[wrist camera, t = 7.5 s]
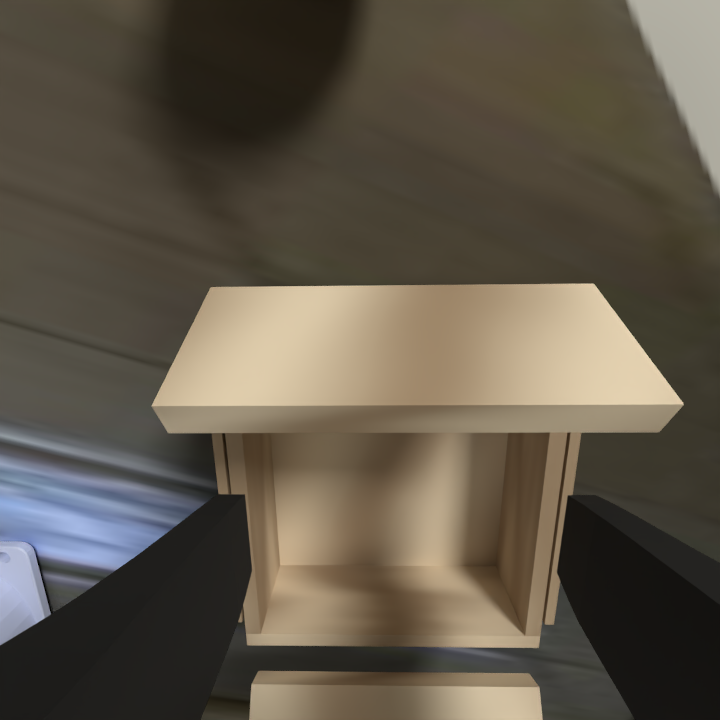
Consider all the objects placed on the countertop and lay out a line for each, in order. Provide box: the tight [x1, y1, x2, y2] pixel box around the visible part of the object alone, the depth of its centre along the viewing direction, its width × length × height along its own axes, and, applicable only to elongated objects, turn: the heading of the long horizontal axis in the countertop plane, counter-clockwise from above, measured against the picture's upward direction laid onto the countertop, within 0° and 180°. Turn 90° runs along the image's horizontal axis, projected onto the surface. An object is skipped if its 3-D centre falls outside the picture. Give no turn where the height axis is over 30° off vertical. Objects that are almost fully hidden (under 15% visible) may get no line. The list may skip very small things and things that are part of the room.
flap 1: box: [152, 284, 684, 433], centre depth 8 cm, size 9×4×1 cm
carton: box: [212, 284, 581, 648], centre depth 14 cm, size 11×12×4 cm
